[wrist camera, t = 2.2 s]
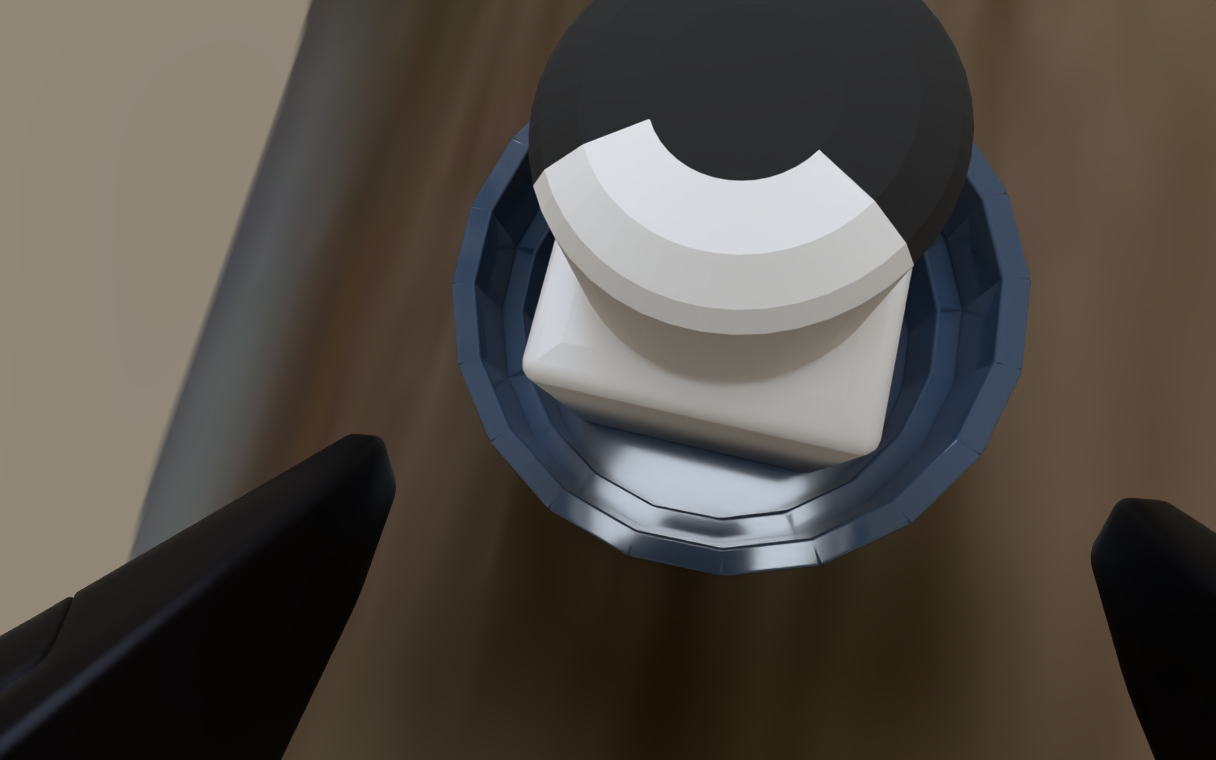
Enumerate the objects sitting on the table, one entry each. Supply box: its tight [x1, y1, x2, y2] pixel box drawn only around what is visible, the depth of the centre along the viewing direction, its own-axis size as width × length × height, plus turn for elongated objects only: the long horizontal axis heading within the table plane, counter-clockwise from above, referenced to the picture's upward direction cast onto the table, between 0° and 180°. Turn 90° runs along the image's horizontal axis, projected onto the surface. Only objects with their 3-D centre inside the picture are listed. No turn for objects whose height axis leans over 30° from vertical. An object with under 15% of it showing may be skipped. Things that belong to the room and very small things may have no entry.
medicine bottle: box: [523, 0, 974, 473], centre depth 14 cm, size 7×7×12 cm
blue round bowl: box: [452, 121, 1031, 576], centre depth 18 cm, size 13×13×5 cm
